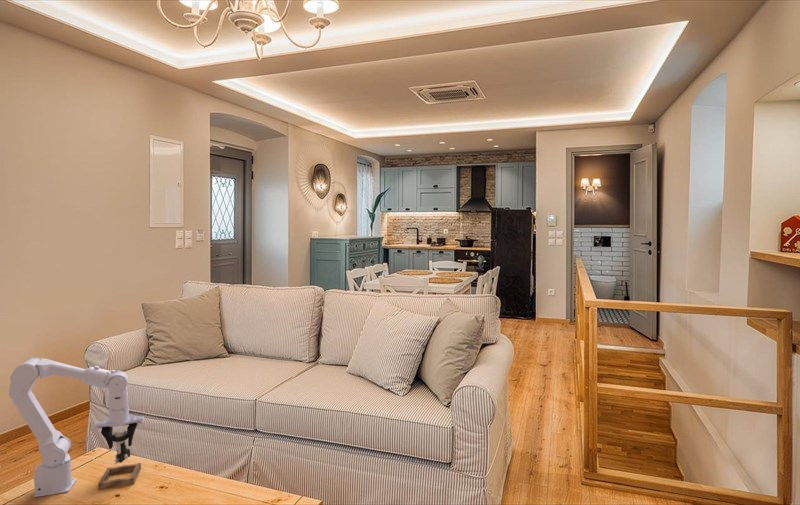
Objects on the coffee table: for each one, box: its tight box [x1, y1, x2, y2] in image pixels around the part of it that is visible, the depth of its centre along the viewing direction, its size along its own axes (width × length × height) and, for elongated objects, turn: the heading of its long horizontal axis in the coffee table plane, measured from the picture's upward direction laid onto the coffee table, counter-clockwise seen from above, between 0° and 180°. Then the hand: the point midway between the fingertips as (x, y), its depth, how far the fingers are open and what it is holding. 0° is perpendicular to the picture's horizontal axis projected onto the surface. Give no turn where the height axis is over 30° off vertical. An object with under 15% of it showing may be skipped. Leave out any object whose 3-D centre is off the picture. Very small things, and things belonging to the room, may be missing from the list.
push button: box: [112, 428, 131, 465], centre depth 162 cm, size 7×5×10 cm
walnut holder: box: [97, 462, 142, 491], centre depth 161 cm, size 10×11×2 cm
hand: (120, 446), depth 162 cm, fingers closed on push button, 5 cm apart
